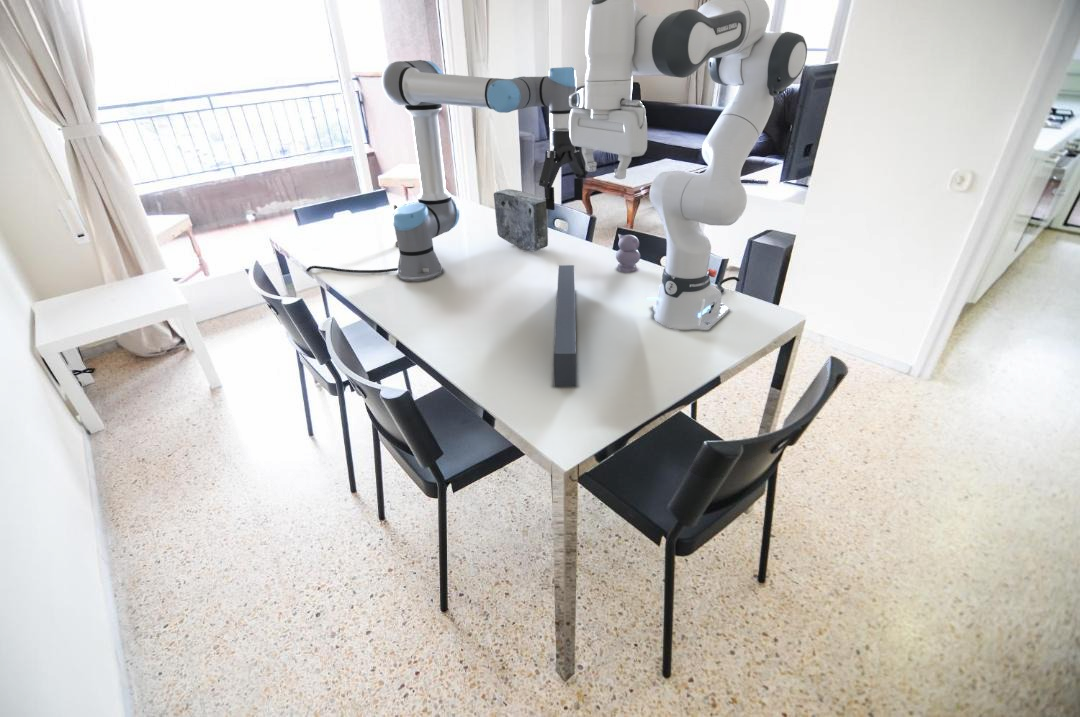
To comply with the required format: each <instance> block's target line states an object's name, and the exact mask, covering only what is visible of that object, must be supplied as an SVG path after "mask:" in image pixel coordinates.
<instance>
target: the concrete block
mask: <svg viewBox="0 0 1080 717" xmlns="http://www.w3.org/2000/svg"><path fill="white" fill-rule="evenodd" d="M493 202H494V213H495V222H496V224H495V225H496V231H497V232H496V233H497V236H498V237H499V238H501V239H503V240H505V241H506V242H508V243H510V244H511V245H513V246H515V247H517V248H518V249H521V250H524V251H530V252H537V251H539V250H541V249H544V248H547V247H548V246H549V228H548V223H549V222H548V221H549V219H548V218H549V217H548V209H546V198H545V197H541V196H539V195H536V194H533V193H531V192H530V193H529V192H525V191H522V190H517V189H511V188H510V189H509V188H507V189H501V190H498V191H497V190H496V191H495V192H493Z"/></svg>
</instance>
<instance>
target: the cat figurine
mask: <svg viewBox="0 0 1080 717" xmlns="http://www.w3.org/2000/svg"><path fill="white" fill-rule="evenodd" d="M617 235H618V239H619V240H618V248H619V249H618V250H617V251H616V253H615V258H616V261H617V262H618V264H617V271H619V272H621V273H633V272H635V271H636V270H637V264H638V262H639V261H640V260H641V253H640V252H639V250H638V249H639V247H640V241H639V239H638V237H637V236H635V235H633V234H624V235H623V234H621V233H618V234H617Z"/></svg>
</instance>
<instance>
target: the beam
mask: <svg viewBox="0 0 1080 717" xmlns="http://www.w3.org/2000/svg"><path fill="white" fill-rule="evenodd" d="M557 273H558V275H557V290H556V291H557V292H556V295H557V296H556V309H555V326H554V327H555V328H554V344H553V345H554V346H553V371H554V372H553V373H554V375H553V376H554V387H577V353H576V352H577V343H576V342H577V340H576V334H577V333H576V287H575V285H576V284H575V279H576V278H575V265H574V264H572V265H571V264H566V265H558V272H557Z"/></svg>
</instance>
